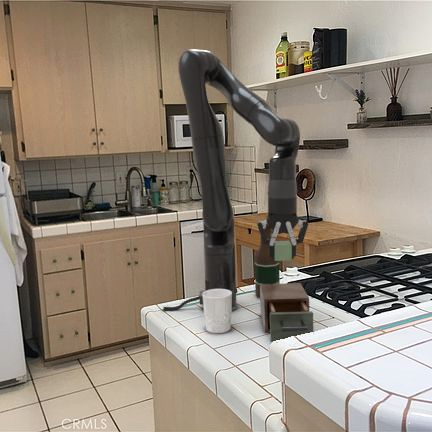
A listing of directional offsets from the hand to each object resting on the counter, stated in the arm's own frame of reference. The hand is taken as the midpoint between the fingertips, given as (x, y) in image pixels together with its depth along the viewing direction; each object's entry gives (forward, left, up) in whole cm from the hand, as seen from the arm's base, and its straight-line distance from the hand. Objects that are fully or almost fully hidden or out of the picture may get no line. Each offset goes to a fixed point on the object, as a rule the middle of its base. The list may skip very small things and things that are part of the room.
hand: (282, 258), depth 135 cm
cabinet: (0, 0, -18) cm, 18 cm away
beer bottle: (-2, +24, -18) cm, 30 cm away
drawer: (0, -11, -17) cm, 21 cm away
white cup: (-18, -3, -18) cm, 26 cm away
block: (0, 0, 0) cm, 0 cm away
